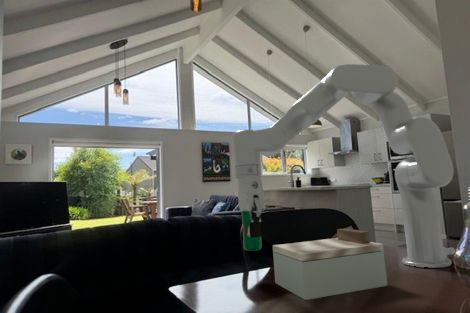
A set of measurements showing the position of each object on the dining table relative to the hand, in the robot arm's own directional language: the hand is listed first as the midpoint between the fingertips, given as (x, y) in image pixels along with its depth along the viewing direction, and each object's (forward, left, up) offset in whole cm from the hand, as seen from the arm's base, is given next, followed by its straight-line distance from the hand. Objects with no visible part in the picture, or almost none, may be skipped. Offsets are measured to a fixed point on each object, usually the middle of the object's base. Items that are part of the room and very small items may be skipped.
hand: (252, 235), depth 95 cm
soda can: (0, 0, -4) cm, 4 cm away
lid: (-14, +15, -4) cm, 21 cm away
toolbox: (-14, +15, -12) cm, 24 cm away
